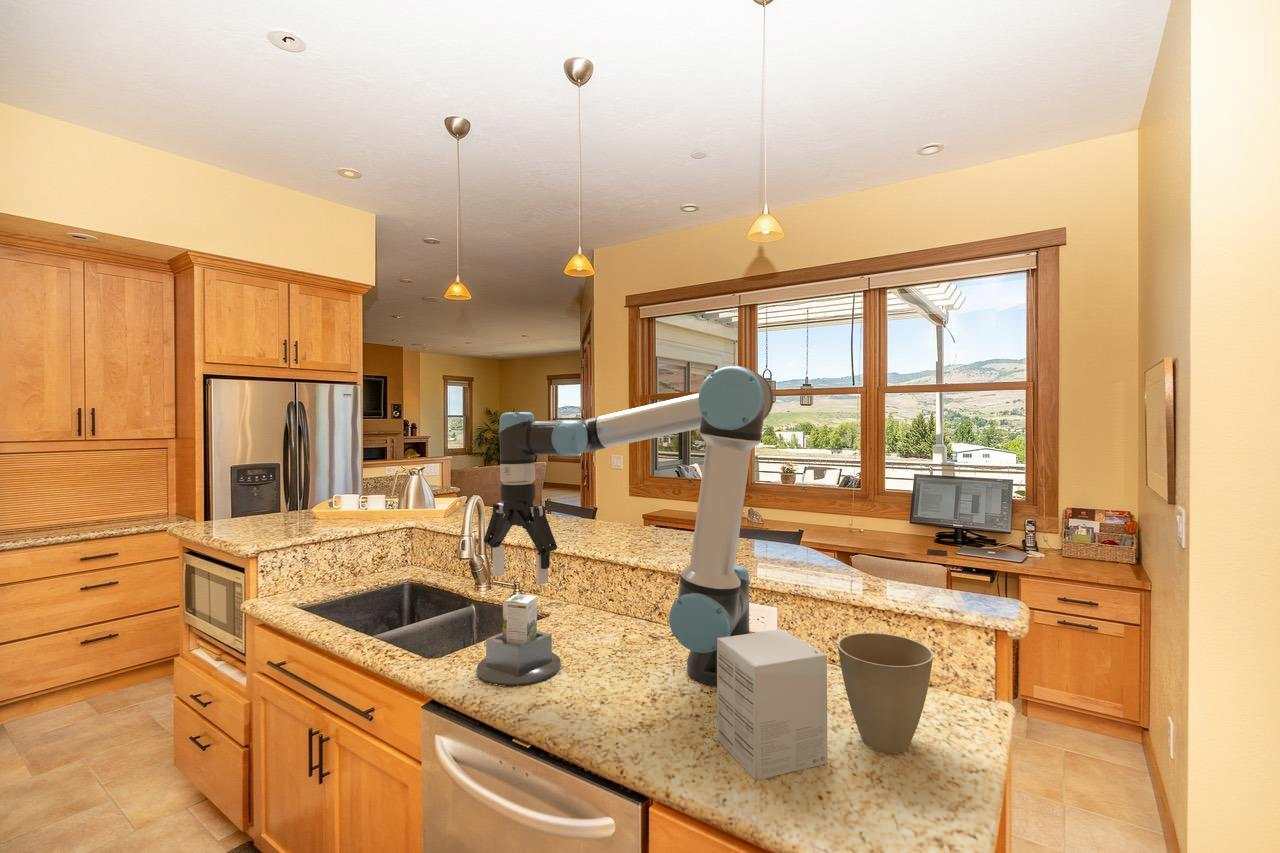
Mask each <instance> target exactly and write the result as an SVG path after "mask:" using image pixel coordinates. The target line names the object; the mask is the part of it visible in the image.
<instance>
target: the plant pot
mask: <svg viewBox="0 0 1280 853" xmlns="http://www.w3.org/2000/svg"><path fill="white" fill-rule="evenodd" d="M837 650H838V658H839V664H840V668H841V674H842V679H843V683H844V684H843V685H844V688H845V692H846V696H847V699H848V702H849V706H850V709H851V712H852V717H853V719H854V721H855V725H856V727H857V730H858V732H859V735H860V737H861V740H862V742H863V743H864V744H865V745H866V746H868V747H869V748H871V749H873V750H875V751H878V752H881V753H885V754H900V753H903V752H906V751H907V750H908V749H909V747H910V745H911V744H912V740H913V738H914V735H915V734H916V731H917V728H918V725H919V722H920V719H921V716H922V714H923V710H924V707H925V703H926V700H927V699H926V698H927V694H928V689H929V686H930V679H931V673H932V667H933V659H934V653H933V651H932V649H930V648H929V647H927V646H926V645H925V644H923V643H921V642H919V641H916V640H915V639H911V638H909V637H905V636H902V635H897V634H891V633H883V632H858V633H851V634H848V635H845V636H843V637H841V638H840V639H838V641H837Z"/></svg>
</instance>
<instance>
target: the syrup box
mask: <svg viewBox="0 0 1280 853" xmlns="http://www.w3.org/2000/svg"><path fill="white" fill-rule="evenodd" d="M537 621H538V596H535V595H530V594H513V595H511V596H510V597H509V598H508V599H505V600H504V601H503V602H502V633H503V641H505V642H508V643H512V644H515V645H518V646H519V645H521V644H524V643H526V642H528V641H531V640H533V639H536V638H537V631H538V628H537V627H538V623H537Z"/></svg>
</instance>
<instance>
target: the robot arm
mask: <svg viewBox="0 0 1280 853" xmlns="http://www.w3.org/2000/svg"><path fill="white" fill-rule="evenodd" d="M699 387H700V388H699V390H698V393H693V394H688V395H685V396H680V397H677V398H672V399H668V400H663V401H659V402H654V403H651V404H647V405H642V406H638V407H633V408H629V409H626V410H625V409H624V410H622V411H617V412H613V413H607V414H605V415H599V416H595V417H590V418H586V419H580V420H573V419H561V420H558V419H557V420H556V419H555V420H535V416H534V413H532V412H529V411H525V412H524V411H523V412H504V413H501V415H500V416H499V426H498V439H499V461H500V462H499V463H500V464H499V468H500V470H499V474H500V478H499V479H500V482H502V483H501V485H500V488H499V489H500V501H501V502H498V503H492V513H491V517H490V520H489V523H488V527H487V529H486V532H485V536H484V539H483V543H484V544H488V545H489V547H490V555H491V556H490V558H491V561H492V577H494V578H497V577H500V576H504V575H505V547H504V546H505V545H503V542H504V539H505V538H506V537H507V535H508V533H509V532H510V530H511V528H512V526H517V527H521V528H522V529H524V530H525V531H526V532H527V534H528V536H529V537H530V540H531V541H532V543H533V544H534V546H535V548H536V549H537V551H538V552H537V553H535V556H536V557H535V561H536V562H535V565H536V566H535V567H536V585H537V586H542V585H544V584H548V583H549V569H550V567H551V561H550V559H551V557H550V554H551V552H553V551H557V549H558V546H557V542H556V540H555V537H554V534H553V531H552V529H551V527H550V523H549V520H548V518H547V515H546V507H545V506H544V505H540V506H534V500H535V499H536V495H537V494H536V484H535V483H534V481H536V463H535V462H536V461H535V459H536V458H535V457H536V456H548V457H549V456H551V457H552V456H554V457H555V456H560V457H561V456H562V457H571V456H579V455H580V456H581V455H582V454H584V453H585V454H587V453H594V452H597V451H599V450H604V449H608V448H613V447H617V446H622V445H626V444H627V445H628V444H631V443H635V442H640V441H645V440H651V439H655V438H659V437H660V438H661V437H664V436H669V435H674V434H679V433H684V432H689V431H694V430H698V429H699V436H701V438H702V440H703V441H704V442H705V449H704V456H703V457H704V458H703V466H702V471H701V479H700V480H701V481H700V487H699V495H698V500H697V501H698V502H697V509H696V517H695V525H694V532H693V533H694V534H693V539H692V546H691V547H692V548H691V555H690V560H689V561H690V562H689V565H688V566H686V567H685V568H684V569H682V570H681V572H680V578H679V584H678V585H679V586H678V591H677V598H676V599H675V600H674V601H673V603H672V605H671V607H670V610H669V614H668V625H669V628H670V630H671V633H672V635H673V637H674V638H675V639H676V640H677V641H678V643H679V644H680V645H681V646H683V647H684V648H686V649H687V650H689V652H688V656H687V660H686V672H687V675H689V677H690V678H692V679H693V680H695V681H696V682H699V683H702V684H704V685H705V684H706V685H709V686H716V687H717V638H722V637H730V636H737V635H744V634H750V584H751V580H750V573H749V571H748V569H747V568H746V567H744V566H741V565H736V560H737V555H738V554H737V552H738V546H739V540H740V533H741V532H740V530H741V525H742V517H743V511H744V504H745V503H744V502H745V496H746V490H747V480H748V474H749V467H750V459H751V454H752V450H753V449H754V448H755V447H756V446H757V445H759V444H760V443H761V441H762V434H763V426H764V421H765V419H766V418H768V416H769V414H770V413H771V410H772V409H773V404H774V393H773V390H772V387H771V385H770V384H769V382H768V380H767V379H766V378H765V377H764V376H762V375H761V374H759V373H758V372H755V371H752V370H751V369H749V368H747V367H743V366H739V365H736V366H731V365H730V366H729V365H728V366H724V367H721V368H718V369H716V370H714V371H713V372H711V373H710V374H708V375H707V376H706V378H705V379H704V380H703V382H702V383H701V385H700V386H699Z"/></svg>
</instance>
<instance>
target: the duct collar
mask: <svg viewBox="0 0 1280 853" xmlns="http://www.w3.org/2000/svg"><path fill="white" fill-rule="evenodd" d="M552 636H553V635H552V634H551V633H547V632H543V631H540V630H537V638H536V639H533V640H531V641H528V642H526V643H524V644H521V645H519V646H518V645H515V644H512V643H508V642H505V641H503V632H500V633H497V634H494V635H492V636H490V637H488V638H485V654H486V655H485V657H484V658H483V659H482V660H481V661H480V662H478V665H477V666H476V674H477V677H478V679H479V680H481V681H482V680H483V682H484V681H485V682H484V683H486V682H487V684H489V683H491V684H490V685H493V684H497V685H496V686H498V685H505V686H504V687H521V686H520V685H523V686H528V685H527V684H529V685H533V683H534V684H537V683H540V682H541V683H542V682H544V681H546V680H548V679H551V678H552V677H554V676H555V675H556V674H558V673H559V671H560V669H561V665H562V664H561V663H562V660H561V659H560V656H559V655H557V654H556V653H554V652H553V650H552V648H553V644H552V643H553V642H552V641H553V640H552V639H553V638H552ZM517 685H519V686H517Z"/></svg>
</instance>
